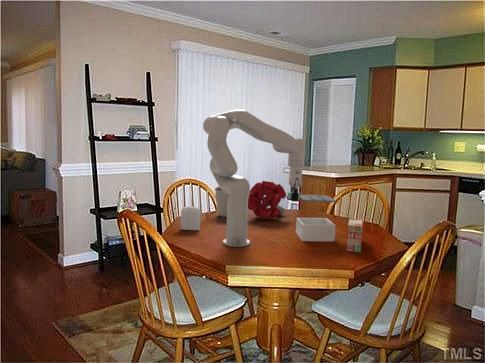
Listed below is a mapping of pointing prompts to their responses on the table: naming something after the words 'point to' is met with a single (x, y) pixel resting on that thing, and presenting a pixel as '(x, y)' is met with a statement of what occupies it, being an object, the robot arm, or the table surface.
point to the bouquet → (266, 200)
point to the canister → (221, 202)
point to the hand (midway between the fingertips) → (293, 199)
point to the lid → (313, 198)
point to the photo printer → (190, 218)
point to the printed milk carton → (354, 235)
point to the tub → (315, 229)
